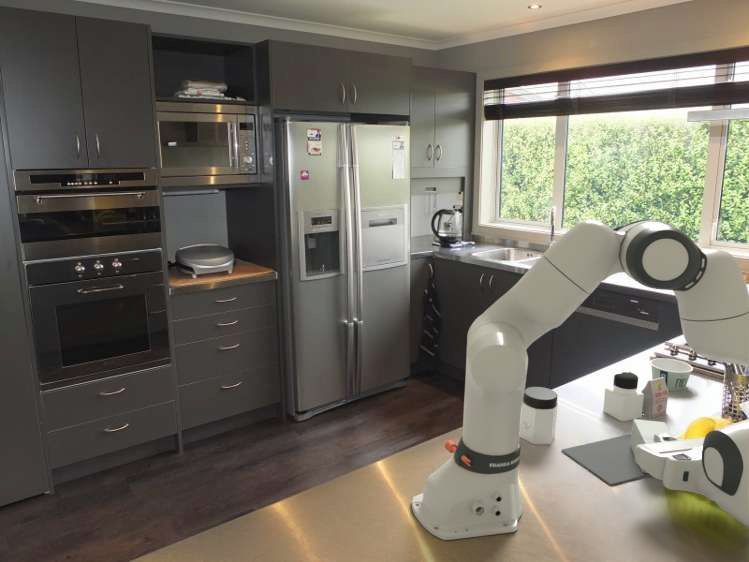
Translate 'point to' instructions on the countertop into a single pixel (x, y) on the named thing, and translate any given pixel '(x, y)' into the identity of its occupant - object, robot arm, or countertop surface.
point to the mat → (608, 459)
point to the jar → (538, 415)
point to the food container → (671, 372)
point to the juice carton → (655, 397)
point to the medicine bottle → (624, 397)
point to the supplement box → (646, 433)
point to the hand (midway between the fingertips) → (659, 436)
